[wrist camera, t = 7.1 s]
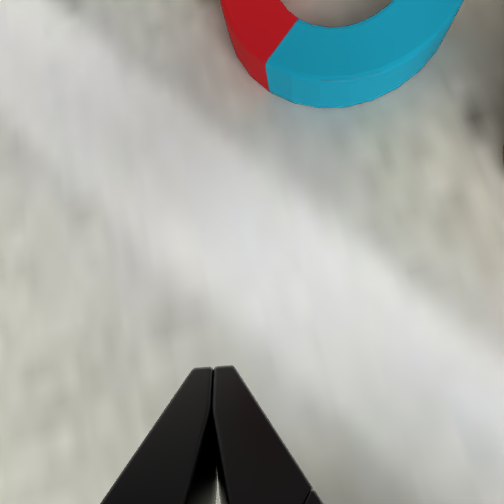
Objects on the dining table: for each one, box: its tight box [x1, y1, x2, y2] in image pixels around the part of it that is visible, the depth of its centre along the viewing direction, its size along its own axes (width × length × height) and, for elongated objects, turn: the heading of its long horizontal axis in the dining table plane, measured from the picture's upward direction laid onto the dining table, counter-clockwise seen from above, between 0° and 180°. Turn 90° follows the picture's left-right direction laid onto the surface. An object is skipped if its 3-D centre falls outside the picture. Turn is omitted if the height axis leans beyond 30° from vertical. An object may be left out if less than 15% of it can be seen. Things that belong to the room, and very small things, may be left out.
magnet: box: [220, 0, 463, 108], centre depth 20 cm, size 12×3×10 cm
